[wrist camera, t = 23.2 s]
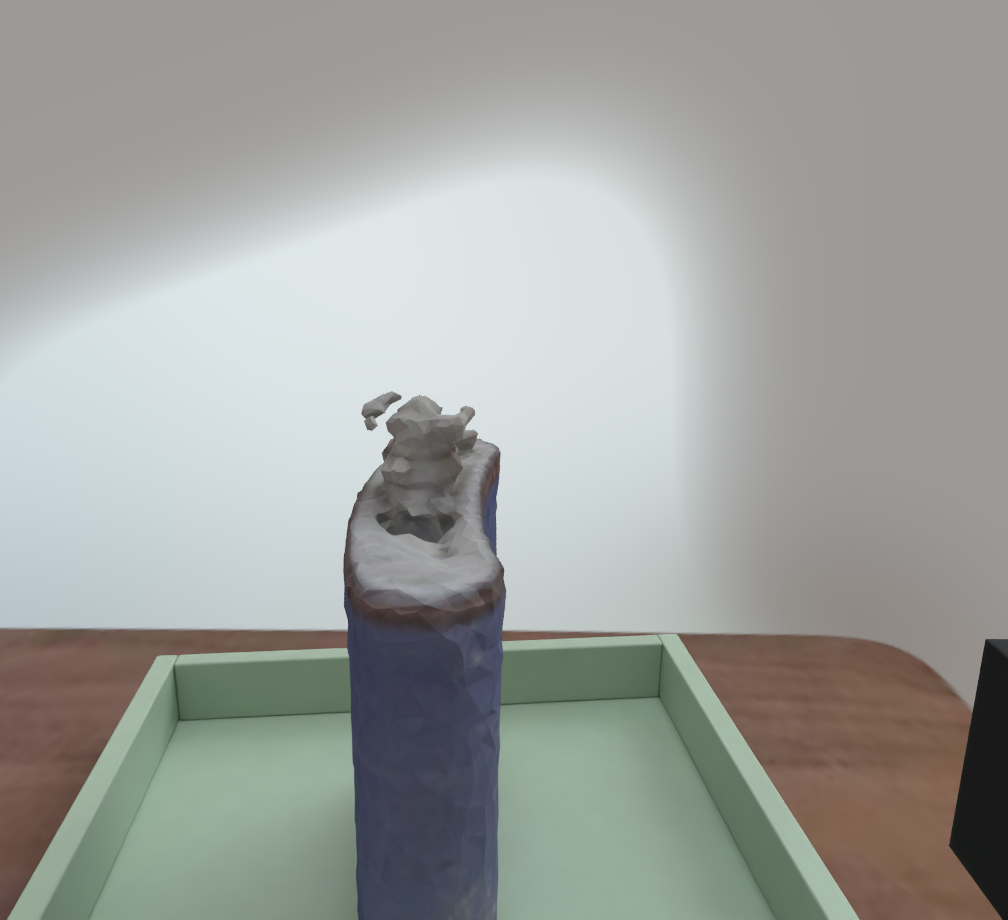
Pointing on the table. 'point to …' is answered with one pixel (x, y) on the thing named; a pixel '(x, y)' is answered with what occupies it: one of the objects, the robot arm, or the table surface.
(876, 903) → the table surface
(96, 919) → the tray
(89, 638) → the table surface
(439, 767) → the flask
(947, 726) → the table surface
